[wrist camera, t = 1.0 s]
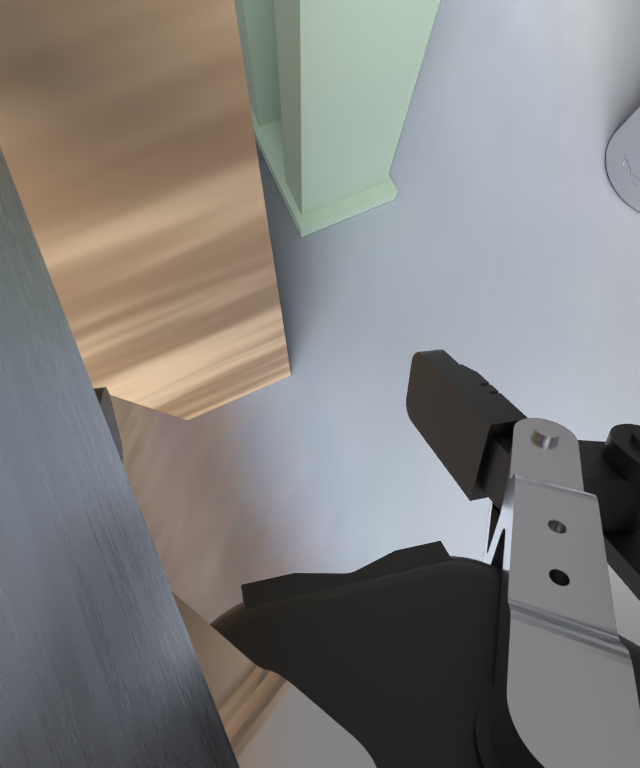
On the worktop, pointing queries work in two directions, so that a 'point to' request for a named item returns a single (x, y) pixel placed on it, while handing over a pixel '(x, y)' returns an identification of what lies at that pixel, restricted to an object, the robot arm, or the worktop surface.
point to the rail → (79, 560)
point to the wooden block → (145, 193)
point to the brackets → (332, 97)
